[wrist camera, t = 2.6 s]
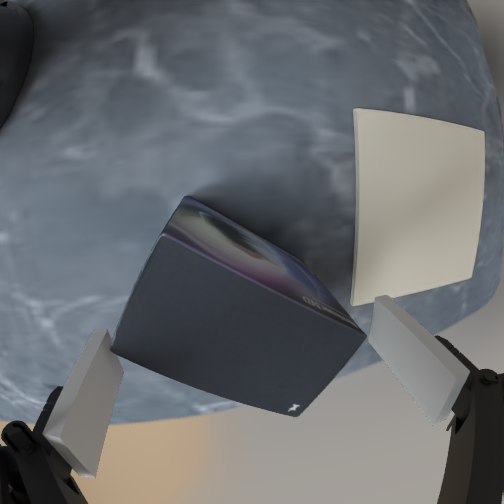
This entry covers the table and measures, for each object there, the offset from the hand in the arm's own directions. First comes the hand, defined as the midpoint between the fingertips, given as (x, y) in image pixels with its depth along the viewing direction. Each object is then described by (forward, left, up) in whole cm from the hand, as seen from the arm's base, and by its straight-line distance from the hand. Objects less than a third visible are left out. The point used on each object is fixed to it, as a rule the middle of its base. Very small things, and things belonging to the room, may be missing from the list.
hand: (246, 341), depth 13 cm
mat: (-3, +18, -9) cm, 20 cm away
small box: (0, 0, -9) cm, 9 cm away
